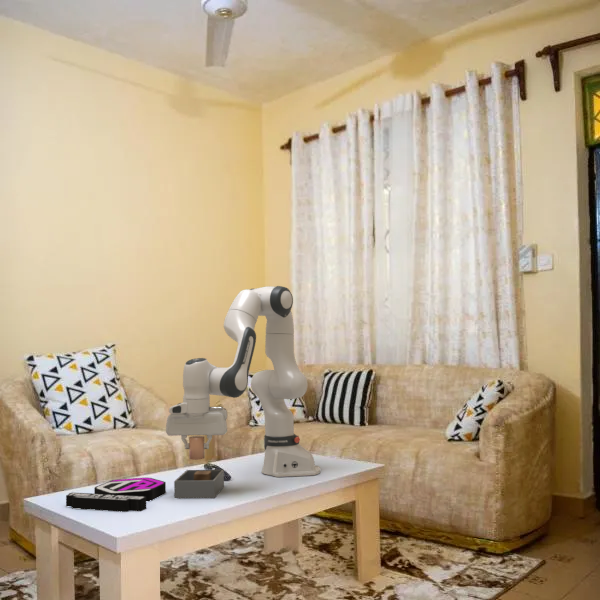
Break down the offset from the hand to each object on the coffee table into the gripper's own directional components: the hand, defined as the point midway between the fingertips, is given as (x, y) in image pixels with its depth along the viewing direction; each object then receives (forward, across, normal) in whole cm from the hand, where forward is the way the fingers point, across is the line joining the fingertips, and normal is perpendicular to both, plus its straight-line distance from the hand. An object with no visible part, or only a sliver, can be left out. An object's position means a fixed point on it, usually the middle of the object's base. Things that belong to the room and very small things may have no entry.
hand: (196, 448), depth 214 cm
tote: (+15, 0, -4) cm, 16 cm away
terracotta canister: (+3, 0, 0) cm, 3 cm away
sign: (+16, +24, +3) cm, 29 cm away
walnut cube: (+15, 0, -8) cm, 17 cm away
